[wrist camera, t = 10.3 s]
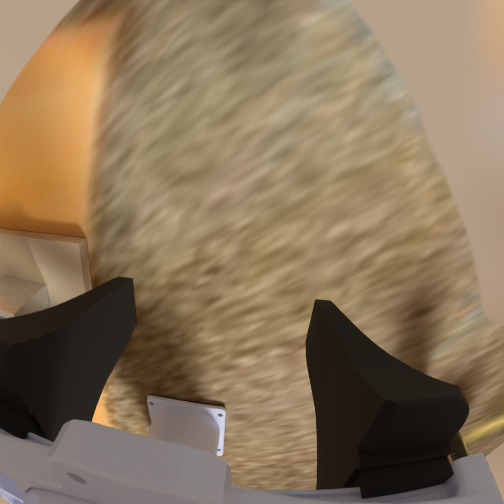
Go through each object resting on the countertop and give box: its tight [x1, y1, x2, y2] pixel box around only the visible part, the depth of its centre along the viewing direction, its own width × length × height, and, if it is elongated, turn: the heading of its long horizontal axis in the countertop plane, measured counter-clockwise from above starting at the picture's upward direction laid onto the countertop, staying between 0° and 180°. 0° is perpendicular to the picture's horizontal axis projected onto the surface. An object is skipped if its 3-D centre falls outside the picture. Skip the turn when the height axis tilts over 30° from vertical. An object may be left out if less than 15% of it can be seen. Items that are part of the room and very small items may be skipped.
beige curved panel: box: [0, 228, 92, 319], centre depth 23 cm, size 14×14×5 cm
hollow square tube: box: [0, 275, 51, 318], centre depth 22 cm, size 6×6×5 cm
